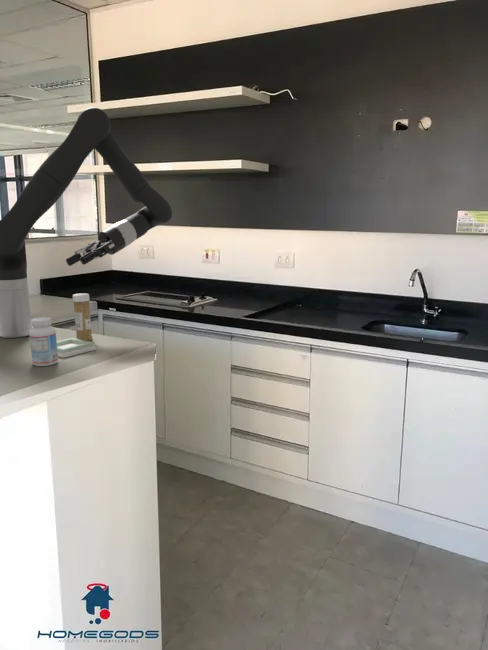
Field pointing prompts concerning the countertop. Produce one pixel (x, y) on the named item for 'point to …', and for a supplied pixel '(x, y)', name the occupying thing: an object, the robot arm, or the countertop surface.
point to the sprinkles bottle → (82, 316)
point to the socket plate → (73, 347)
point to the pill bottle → (43, 342)
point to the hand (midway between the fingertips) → (74, 262)
